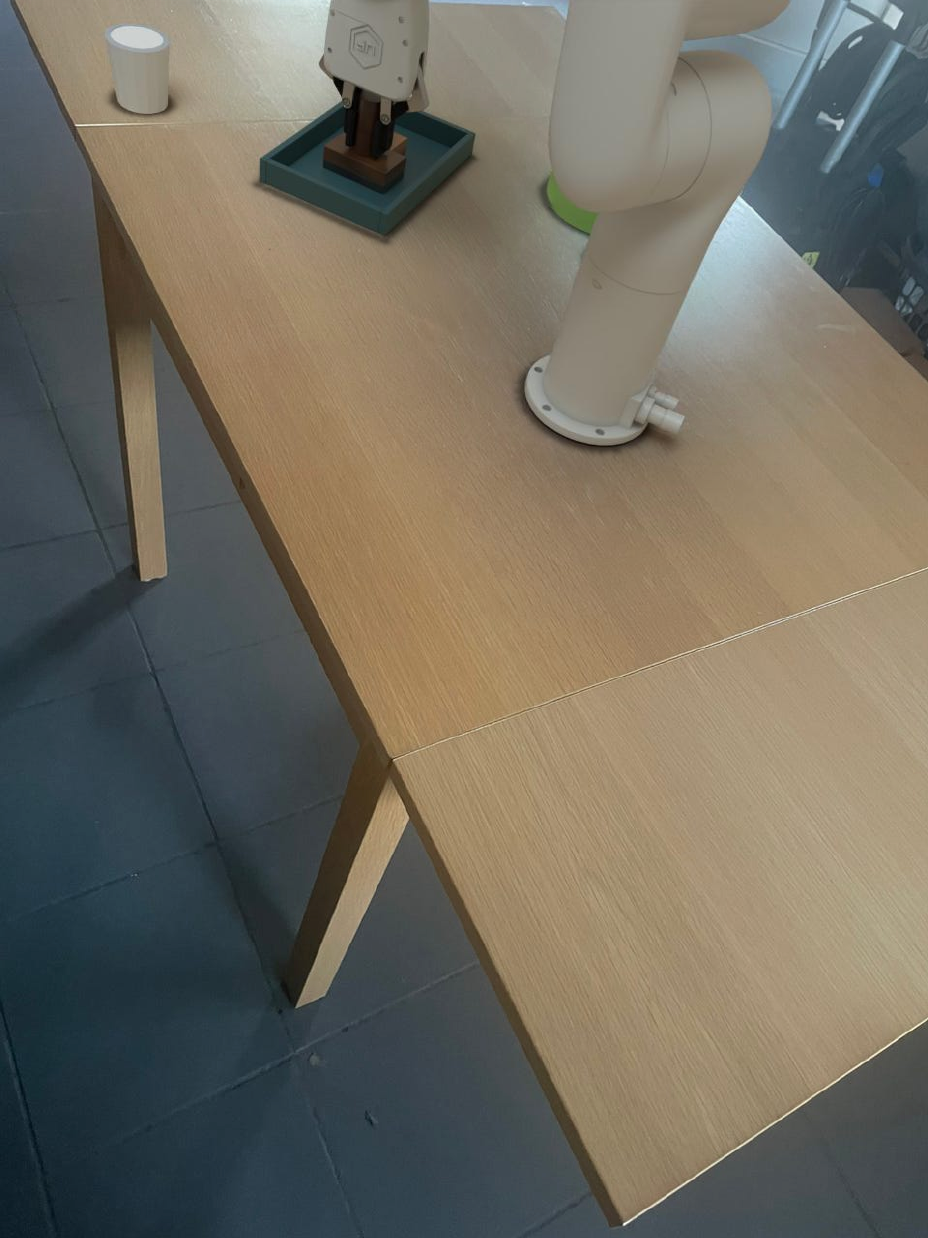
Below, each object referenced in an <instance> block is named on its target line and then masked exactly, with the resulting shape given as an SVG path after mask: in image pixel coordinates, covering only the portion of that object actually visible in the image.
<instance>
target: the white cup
mask: <svg viewBox="0 0 928 1238" xmlns="http://www.w3.org/2000/svg"><path fill="white" fill-rule="evenodd" d="M104 39H105V44H106V49H107V53H108V54H107V55H108V60H109V64H110V70H111V76H112V81H113V85H114V90H115V96H116V100H117V103H118V104H119V105H120V106H121V108H123V109H125V110H127V111H129V112H132V113H136V114H141V115H152V114H159V113H161V112H163V111H165V110H166V109H167V108H168V106H169V83H170V81H169V80H170V79H169V78H170V77H169V76H170V47H171V46H170V44H171V43H170V38H169V37H168V35H167V34H166V33H165V32H163V31H162V30H159V29H158V28H156V27H154V26H149V25H146V24H141V23H131V22H128V23H117V24H115V25H112V26H109V27H108V28H107V29H106V30H105V31H104Z"/></svg>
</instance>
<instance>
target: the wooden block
mask: <svg viewBox="0 0 928 1238" xmlns="http://www.w3.org/2000/svg"><path fill="white" fill-rule="evenodd" d="M406 145H407V137H404V136H402V135H400V134H397V133H395V132H394V135H393V142H392V146H391V148H390V149H389V150H392V151H394V152H396V153H398V154H401V155H403V156H405V152H406Z"/></svg>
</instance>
